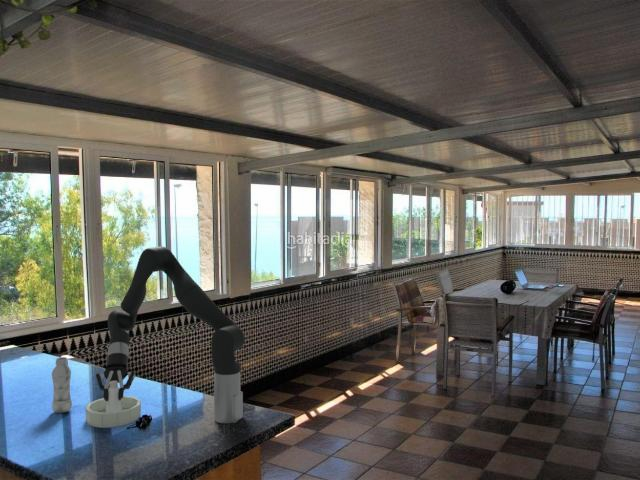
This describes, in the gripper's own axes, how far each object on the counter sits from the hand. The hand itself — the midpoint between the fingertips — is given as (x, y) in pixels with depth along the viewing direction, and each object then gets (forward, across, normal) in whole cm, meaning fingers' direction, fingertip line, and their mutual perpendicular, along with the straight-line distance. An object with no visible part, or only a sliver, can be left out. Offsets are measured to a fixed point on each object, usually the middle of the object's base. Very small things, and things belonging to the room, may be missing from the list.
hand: (113, 399), depth 189 cm
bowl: (+4, 0, +6) cm, 8 cm away
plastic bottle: (-3, -20, +14) cm, 24 cm away
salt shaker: (+2, 0, +5) cm, 6 cm away
